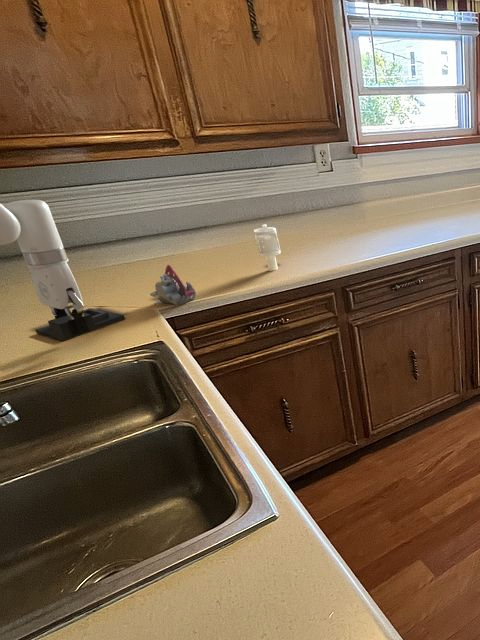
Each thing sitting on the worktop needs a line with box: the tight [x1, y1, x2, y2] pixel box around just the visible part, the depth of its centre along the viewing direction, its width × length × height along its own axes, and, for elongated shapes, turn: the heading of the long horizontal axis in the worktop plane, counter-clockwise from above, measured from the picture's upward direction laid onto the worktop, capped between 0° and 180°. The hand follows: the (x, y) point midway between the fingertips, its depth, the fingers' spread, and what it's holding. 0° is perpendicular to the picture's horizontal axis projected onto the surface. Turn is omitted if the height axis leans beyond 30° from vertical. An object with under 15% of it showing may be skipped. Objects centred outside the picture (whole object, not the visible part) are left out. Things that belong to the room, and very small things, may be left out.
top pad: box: [47, 313, 98, 341], centre depth 124 cm, size 7×5×4 cm
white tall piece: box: [253, 223, 282, 272], centre depth 177 cm, size 7×7×15 cm
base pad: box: [34, 307, 126, 342], centre depth 138 cm, size 16×12×3 cm
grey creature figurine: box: [149, 264, 197, 306], centre depth 151 cm, size 11×11×12 cm
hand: (74, 330), depth 125 cm, fingers closed on top pad, 5 cm apart
